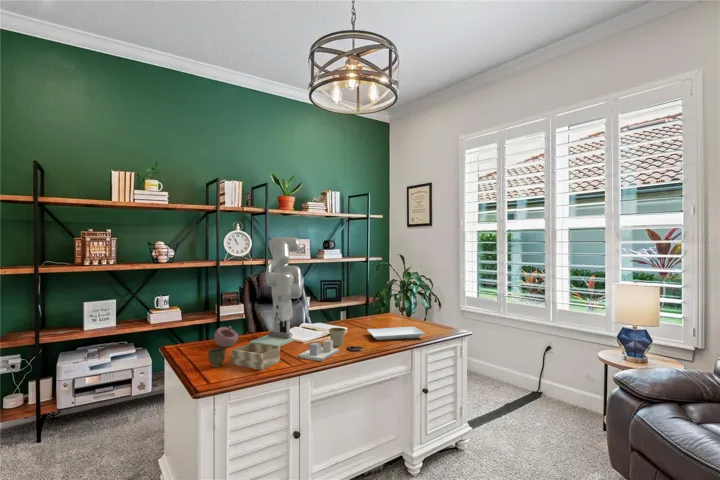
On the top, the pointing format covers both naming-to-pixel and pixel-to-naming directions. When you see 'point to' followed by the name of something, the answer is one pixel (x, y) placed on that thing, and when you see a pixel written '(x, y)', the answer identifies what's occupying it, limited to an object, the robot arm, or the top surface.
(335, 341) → the flower pot
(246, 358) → the birch box
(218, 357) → the cup
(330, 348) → the beige block
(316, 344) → the grey block
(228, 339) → the mortar and pestle
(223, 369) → the top surface
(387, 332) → the tray
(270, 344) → the lid
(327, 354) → the white dish
